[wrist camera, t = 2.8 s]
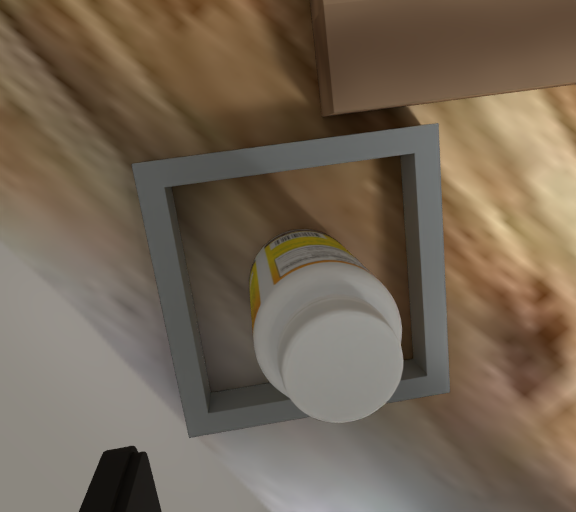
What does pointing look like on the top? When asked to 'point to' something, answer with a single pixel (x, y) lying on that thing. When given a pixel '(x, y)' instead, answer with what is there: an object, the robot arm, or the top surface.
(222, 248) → the top surface
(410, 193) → the square frame
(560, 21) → the socket block
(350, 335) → the supplement bottle
